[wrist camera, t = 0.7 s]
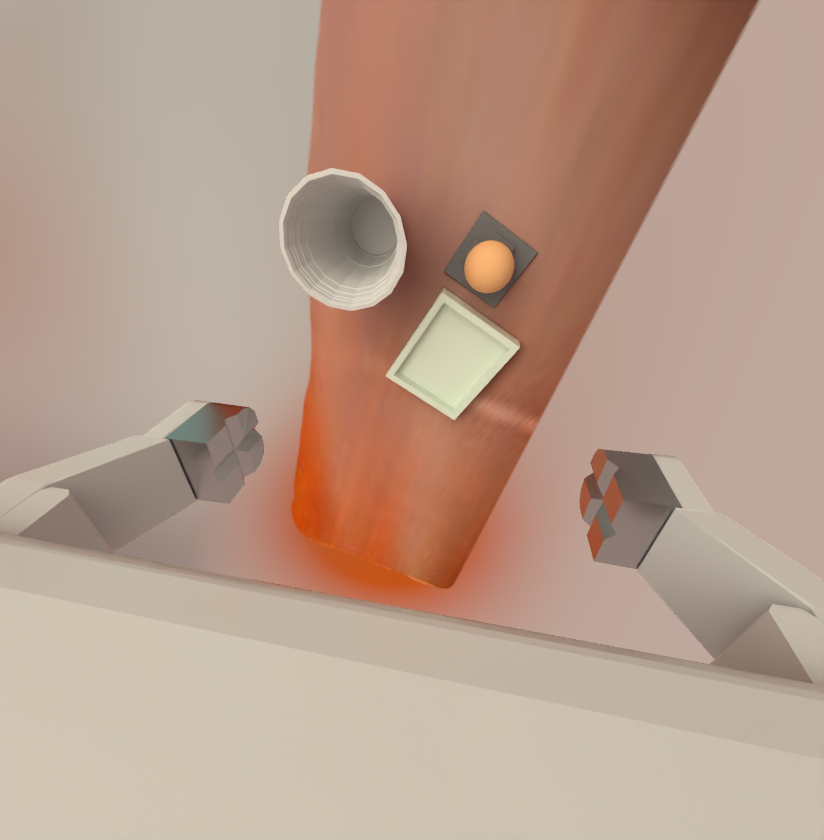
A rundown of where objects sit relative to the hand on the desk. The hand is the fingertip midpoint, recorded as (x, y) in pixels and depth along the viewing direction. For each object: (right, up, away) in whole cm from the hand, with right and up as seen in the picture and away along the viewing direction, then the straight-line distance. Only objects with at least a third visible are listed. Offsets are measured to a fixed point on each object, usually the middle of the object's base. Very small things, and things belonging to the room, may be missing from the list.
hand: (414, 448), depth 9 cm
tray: (+5, +9, +38) cm, 39 cm away
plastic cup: (-4, +22, +31) cm, 38 cm away
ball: (+8, +18, +31) cm, 36 cm away
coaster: (+8, +18, +31) cm, 37 cm away
